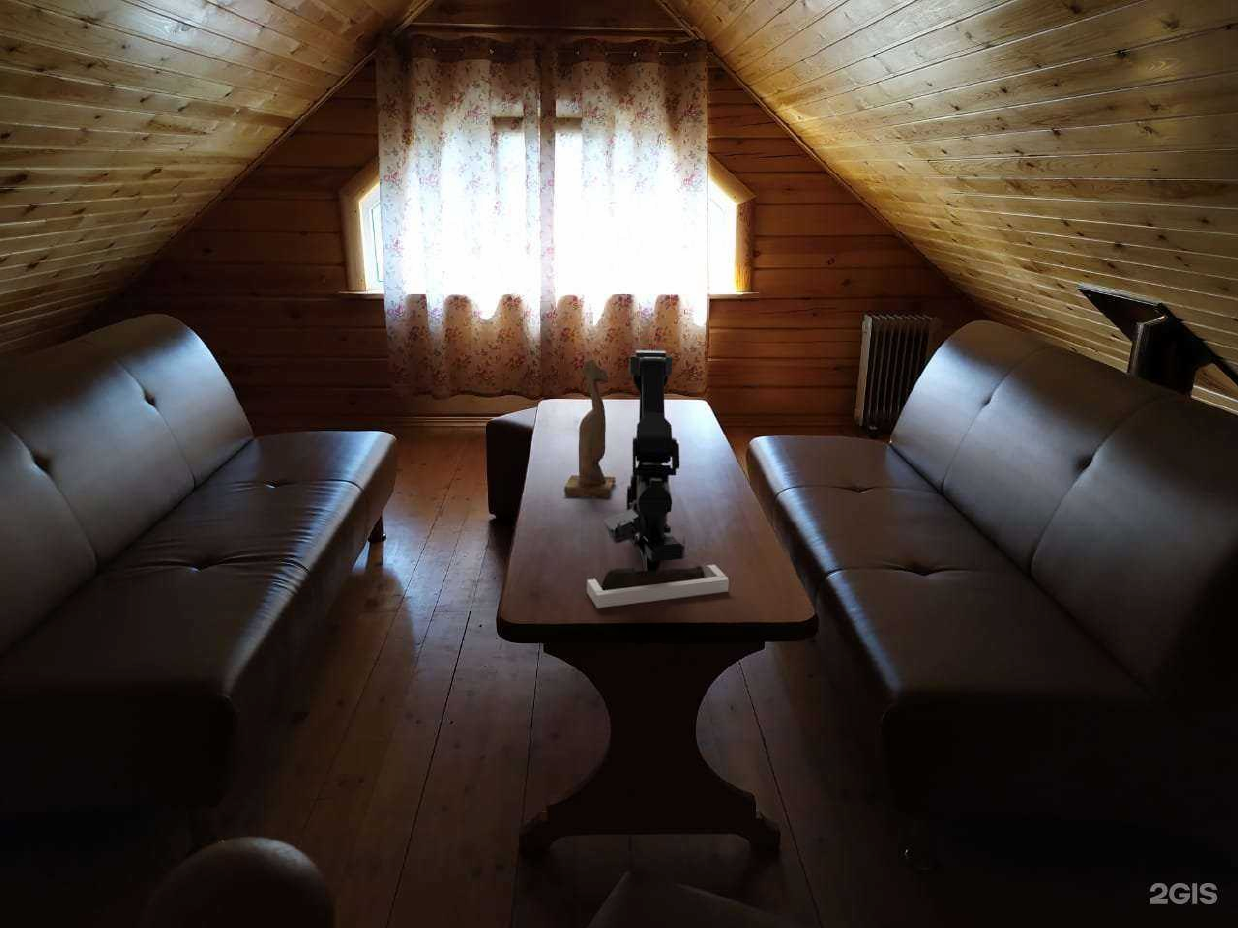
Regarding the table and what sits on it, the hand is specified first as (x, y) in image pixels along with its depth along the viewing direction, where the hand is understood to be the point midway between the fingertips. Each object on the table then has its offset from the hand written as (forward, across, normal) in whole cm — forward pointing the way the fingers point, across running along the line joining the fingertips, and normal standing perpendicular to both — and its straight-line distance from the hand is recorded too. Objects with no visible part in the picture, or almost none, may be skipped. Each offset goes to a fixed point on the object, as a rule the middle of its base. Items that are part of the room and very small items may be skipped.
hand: (649, 576), depth 165 cm
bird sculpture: (+1, -52, +3) cm, 52 cm away
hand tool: (+2, +4, 0) cm, 4 cm away
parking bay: (+1, +4, 0) cm, 5 cm away
